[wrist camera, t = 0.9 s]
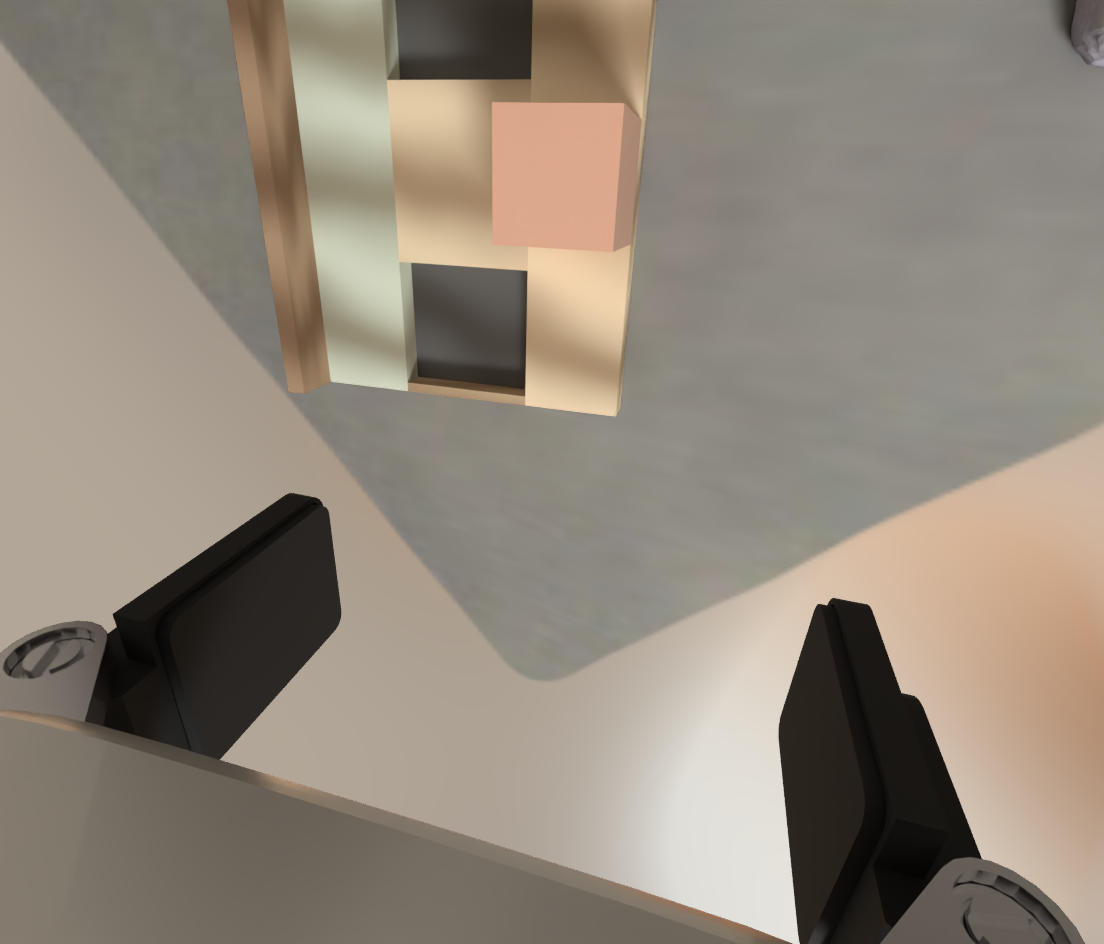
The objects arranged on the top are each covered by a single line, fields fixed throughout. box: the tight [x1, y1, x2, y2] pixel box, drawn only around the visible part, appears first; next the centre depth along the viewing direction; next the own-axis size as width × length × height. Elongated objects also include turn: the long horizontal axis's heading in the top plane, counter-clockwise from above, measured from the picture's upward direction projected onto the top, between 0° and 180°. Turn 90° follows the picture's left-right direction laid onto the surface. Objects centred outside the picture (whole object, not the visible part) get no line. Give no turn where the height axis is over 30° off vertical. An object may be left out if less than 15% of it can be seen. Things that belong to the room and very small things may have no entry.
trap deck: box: [227, 0, 657, 416], centre depth 28 cm, size 22×18×4 cm
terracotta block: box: [492, 102, 642, 252], centre depth 25 cm, size 5×5×5 cm
